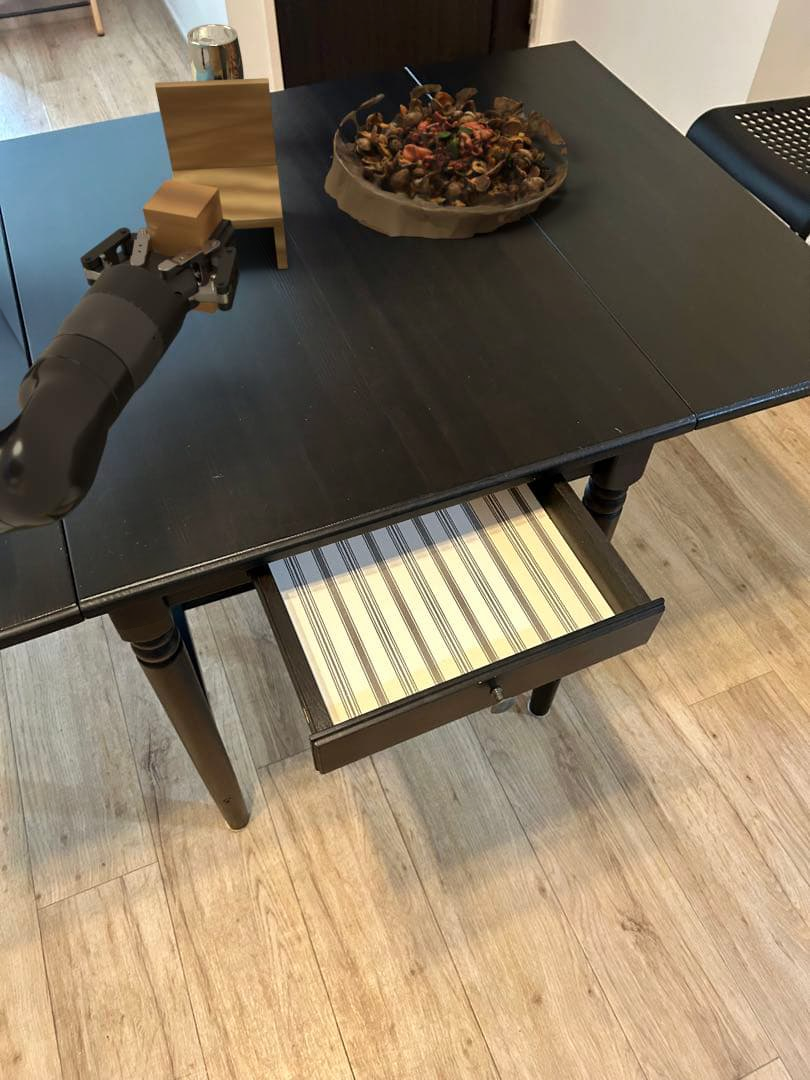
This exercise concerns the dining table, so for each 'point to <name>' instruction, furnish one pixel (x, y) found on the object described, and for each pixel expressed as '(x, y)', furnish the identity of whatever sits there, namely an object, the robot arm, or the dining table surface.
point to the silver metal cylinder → (215, 53)
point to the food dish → (443, 167)
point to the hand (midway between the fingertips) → (200, 223)
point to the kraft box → (183, 220)
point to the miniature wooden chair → (227, 148)
